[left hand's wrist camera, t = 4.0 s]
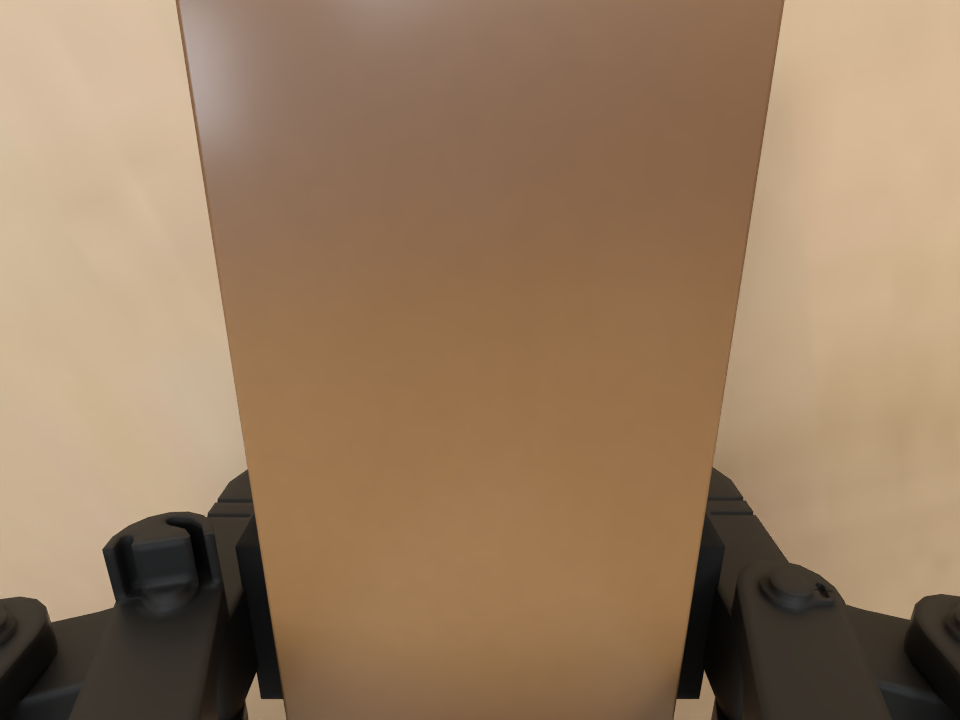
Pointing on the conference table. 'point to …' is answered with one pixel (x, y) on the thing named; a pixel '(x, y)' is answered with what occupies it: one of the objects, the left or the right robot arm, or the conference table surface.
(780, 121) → the conference table surface
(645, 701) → the post
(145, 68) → the conference table surface
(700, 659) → the left robot arm
